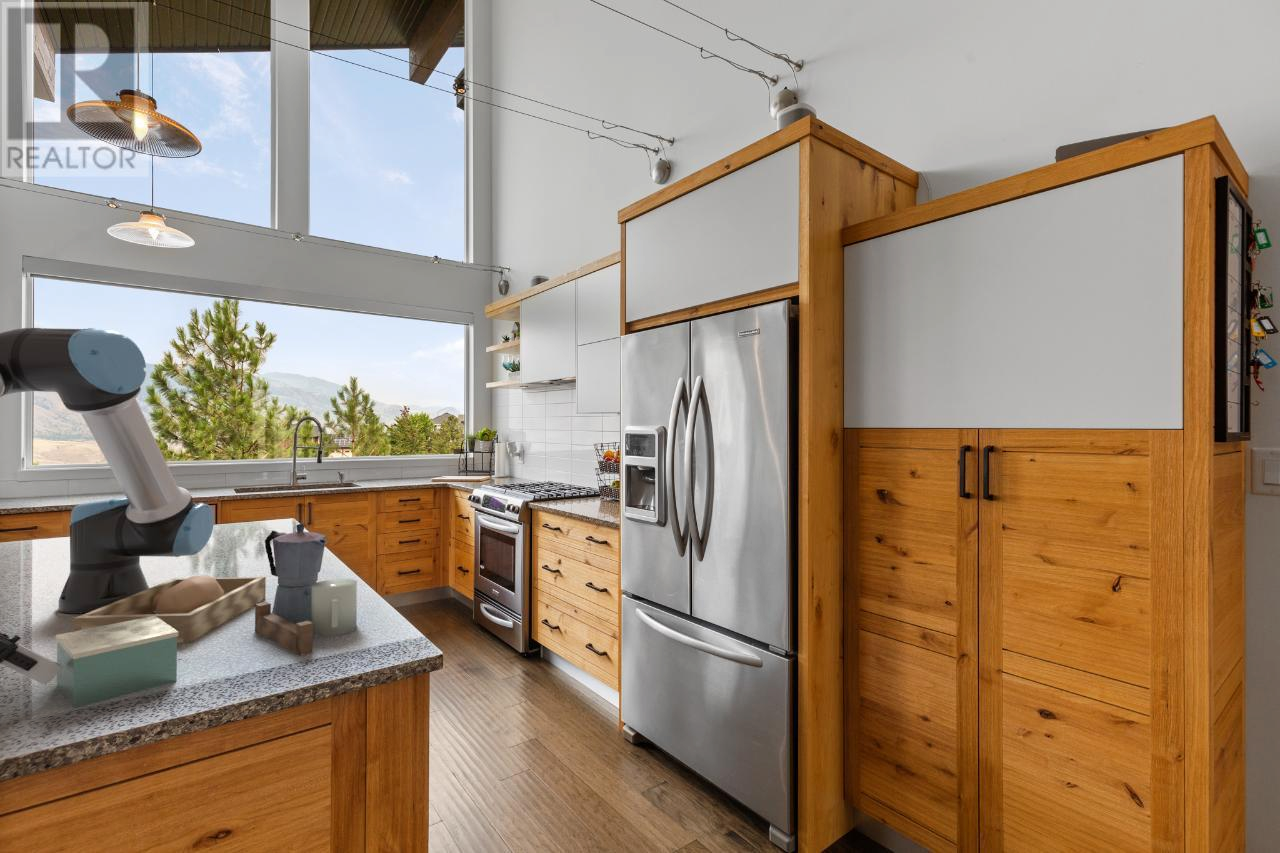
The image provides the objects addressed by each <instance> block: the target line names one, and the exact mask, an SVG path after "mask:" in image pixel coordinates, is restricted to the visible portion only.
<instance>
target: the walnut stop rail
mask: <svg viewBox="0 0 1280 853" xmlns="http://www.w3.org/2000/svg"><path fill="white" fill-rule="evenodd" d="M271 605H272V604H271V603H270V602H267V601H264V602H259V603H257V604H255V605H254V606H255V609H254V612H255V613H254V630H255V632H256V633H258V634H260V635H262V636H264V637H266V638H268V639H269V640H271V641H273V642H275V643H276V644H279V645H281V646H283V647H284V648H286V649H288V650H290V651H292V653H293V652H294V653H295V654H297V655H299V656H305V655H308V654H312V653H313V651H314V646H313V645H314V643H313V642H314V635H313V623H312V622H310V621H304V622H300V623H296V624H294V623H292V622H290V621H288V620H285V619H283V618H281V617H279V616H277V615H275V614H273V613H272V611H271V610H272V606H271ZM311 652H312V653H311ZM307 653H308V654H307Z"/></svg>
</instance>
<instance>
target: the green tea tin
mask: <svg viewBox="0 0 1280 853" xmlns="http://www.w3.org/2000/svg"><path fill="white" fill-rule="evenodd" d="M177 636H178V631H177V630H175V629H174V628H172V627H171V626H170V625H168V624H167V623H165V622H164V621H162V620H161V619H159V618H158V617H156V616H152V617H146V618H141V619H136V620H131V621H126V622H121V623H115V624H110V625H105V626H100V627H95V628H90V629H84V630H79V631H74V630H73V631H69V632H65V633H59V634H56V635H55V641H56V642H57V645H56V648H57V649H56V651H57V652H56V654H57V655H56V657H57V658H56V663H58V664H60V665H62V667H63V669H62V670H61V671H60V672H59V673H58V674H57V675H56V686H57V688H58V689H59V688H60V689H59V691H60V692H61V691H62V692H61V693H62V694H63V696H64V697H65V699H66V698H67V699H66V700H67V702H68V703H69V702H70V703H69V705H72V706H71V707H72V708H73V709H77V708H82V707H83V706H88V705H92V704H95V703H100V702H103V701H106V700H107V699H108V700H110V699H115V698H118V697H122V695H123V696H126V695H129V694H133V692H134V693H137V692H141V691H144V690H148V688H149V689H152V688H155V687H159V686H163V685H167V684H171V683H174V682H177V680H178V678H177V676H178V675H177V672H178V655H177V654H178V643H177Z"/></svg>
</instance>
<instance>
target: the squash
mask: <svg viewBox="0 0 1280 853" xmlns="http://www.w3.org/2000/svg"><path fill="white" fill-rule="evenodd" d="M215 578H216V577H213V576H210V575H208V574H205V575H195V576H194V575H193V576H190V577H187V579H185V580H183V581H182V582H180V583H179V584H177V585H175V586H173V587H171V588H169V589H168V590H166V591H164V592H161V593H159V594H157V595H155V597H154V598H153V601H152V605H151V607H152V608H153V609H154V610H155V612H154V614H185V613H189V612H191V611H193V610H195V609H197V608H199V607H201V606H203V605H205V604H207V603H209V602H211V601H213V600H215V599H218V598H220V597H221V596H223V595H224V590H223V589H222V588H221V586H220V585H219V583H218V582H217V581H216V579H215Z"/></svg>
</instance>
